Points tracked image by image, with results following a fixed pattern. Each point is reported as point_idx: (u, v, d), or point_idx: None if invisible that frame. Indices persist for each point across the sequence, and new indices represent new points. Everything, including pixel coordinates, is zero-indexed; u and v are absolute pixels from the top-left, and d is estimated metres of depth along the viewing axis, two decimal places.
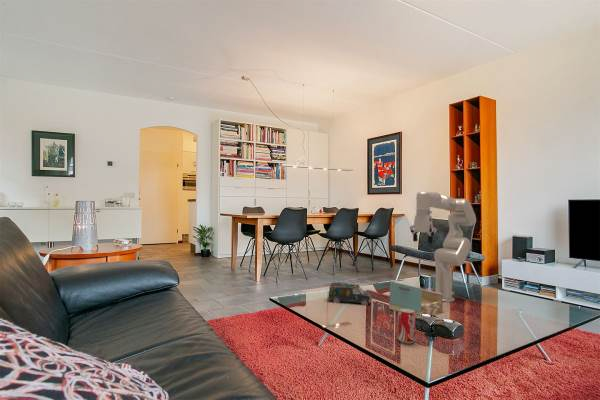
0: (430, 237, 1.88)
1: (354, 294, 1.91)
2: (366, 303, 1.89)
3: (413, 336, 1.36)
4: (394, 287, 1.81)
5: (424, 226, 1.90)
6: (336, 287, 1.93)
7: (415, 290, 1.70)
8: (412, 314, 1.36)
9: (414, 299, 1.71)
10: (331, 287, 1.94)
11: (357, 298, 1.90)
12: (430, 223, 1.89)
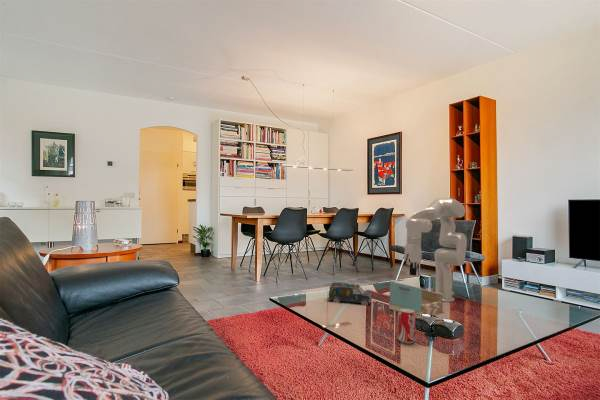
0: None
1: (354, 293, 1.91)
2: (366, 303, 1.89)
3: (413, 336, 1.36)
4: (394, 287, 1.81)
5: (419, 255, 1.81)
6: (336, 287, 1.94)
7: (415, 290, 1.70)
8: (412, 314, 1.36)
9: (414, 299, 1.71)
10: (331, 287, 1.95)
11: (357, 298, 1.90)
12: None
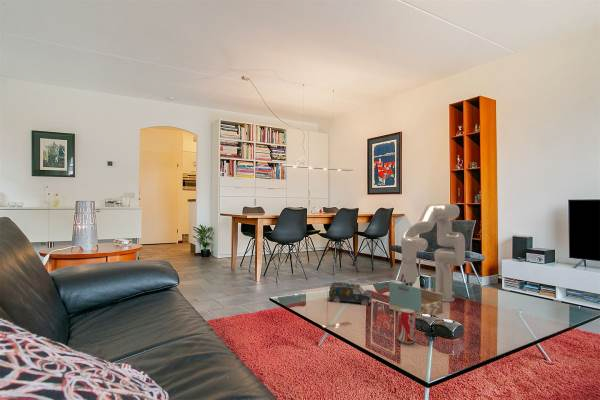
0: None
1: (354, 293, 1.91)
2: (366, 303, 1.89)
3: (413, 336, 1.36)
4: (393, 287, 1.81)
5: (415, 275, 1.78)
6: (336, 287, 1.94)
7: (414, 290, 1.70)
8: (412, 314, 1.36)
9: (414, 299, 1.71)
10: (331, 287, 1.95)
11: (357, 298, 1.90)
12: None
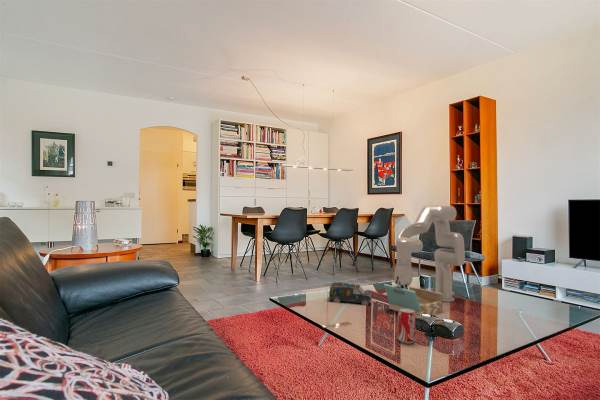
0: None
1: (354, 293, 1.91)
2: (366, 303, 1.89)
3: (413, 336, 1.36)
4: (389, 290, 1.78)
5: (410, 277, 1.75)
6: (337, 287, 1.94)
7: (410, 294, 1.68)
8: (412, 314, 1.36)
9: (411, 301, 1.69)
10: (331, 287, 1.95)
11: (357, 298, 1.90)
12: None
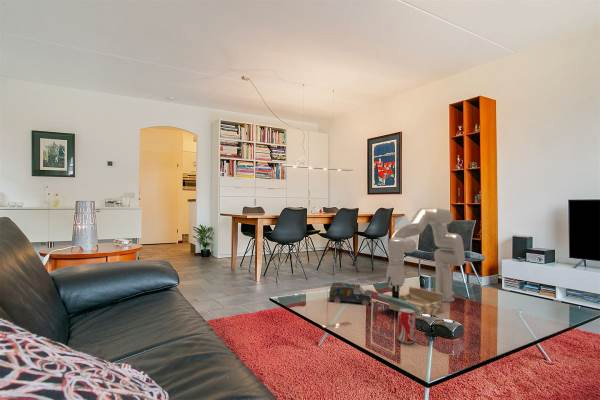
0: None
1: (354, 293, 1.91)
2: (367, 303, 1.89)
3: (413, 336, 1.36)
4: (384, 298, 1.76)
5: (402, 278, 1.71)
6: (337, 287, 1.94)
7: (404, 303, 1.65)
8: (412, 314, 1.36)
9: (408, 306, 1.68)
10: (331, 287, 1.94)
11: (358, 298, 1.90)
12: None
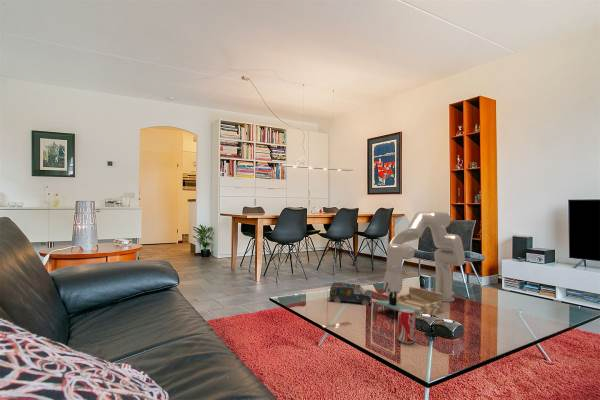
0: None
1: (354, 293, 1.91)
2: (367, 303, 1.89)
3: (413, 336, 1.36)
4: None
5: (400, 284, 1.70)
6: (337, 287, 1.94)
7: None
8: (412, 314, 1.36)
9: None
10: (332, 287, 1.95)
11: (358, 298, 1.90)
12: None
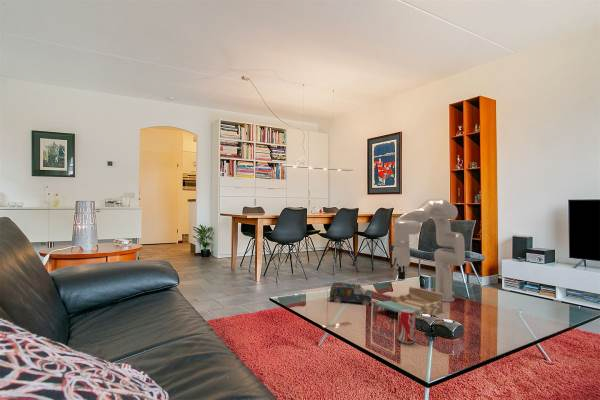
0: None
1: (355, 293, 1.91)
2: (367, 303, 1.89)
3: (413, 336, 1.36)
4: None
5: (408, 259, 1.74)
6: (337, 287, 1.94)
7: None
8: (412, 314, 1.36)
9: None
10: (332, 287, 1.95)
11: (358, 298, 1.90)
12: None
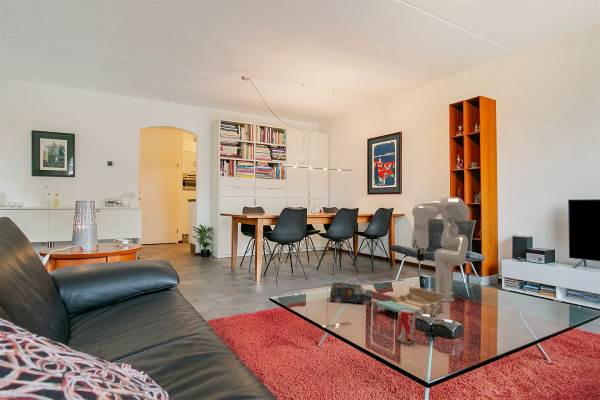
0: None
1: (355, 294, 1.91)
2: (368, 303, 1.89)
3: (413, 336, 1.36)
4: None
5: (426, 242, 1.85)
6: (338, 287, 1.94)
7: None
8: (412, 314, 1.36)
9: None
10: (332, 287, 1.94)
11: (359, 298, 1.90)
12: None
